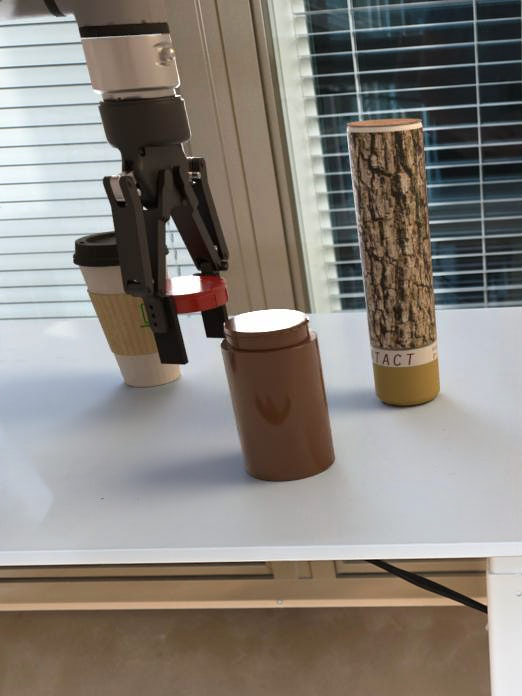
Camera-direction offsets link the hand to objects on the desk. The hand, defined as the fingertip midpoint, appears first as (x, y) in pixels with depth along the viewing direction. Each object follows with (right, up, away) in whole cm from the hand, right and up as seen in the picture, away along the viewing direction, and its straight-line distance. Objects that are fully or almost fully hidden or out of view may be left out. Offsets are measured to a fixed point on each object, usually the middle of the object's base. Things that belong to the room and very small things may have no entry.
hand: (197, 349), depth 92 cm
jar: (+12, -14, -12) cm, 23 cm away
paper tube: (+22, -5, +1) cm, 23 cm away
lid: (0, +5, -3) cm, 6 cm away
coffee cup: (-8, 0, +10) cm, 13 cm away
